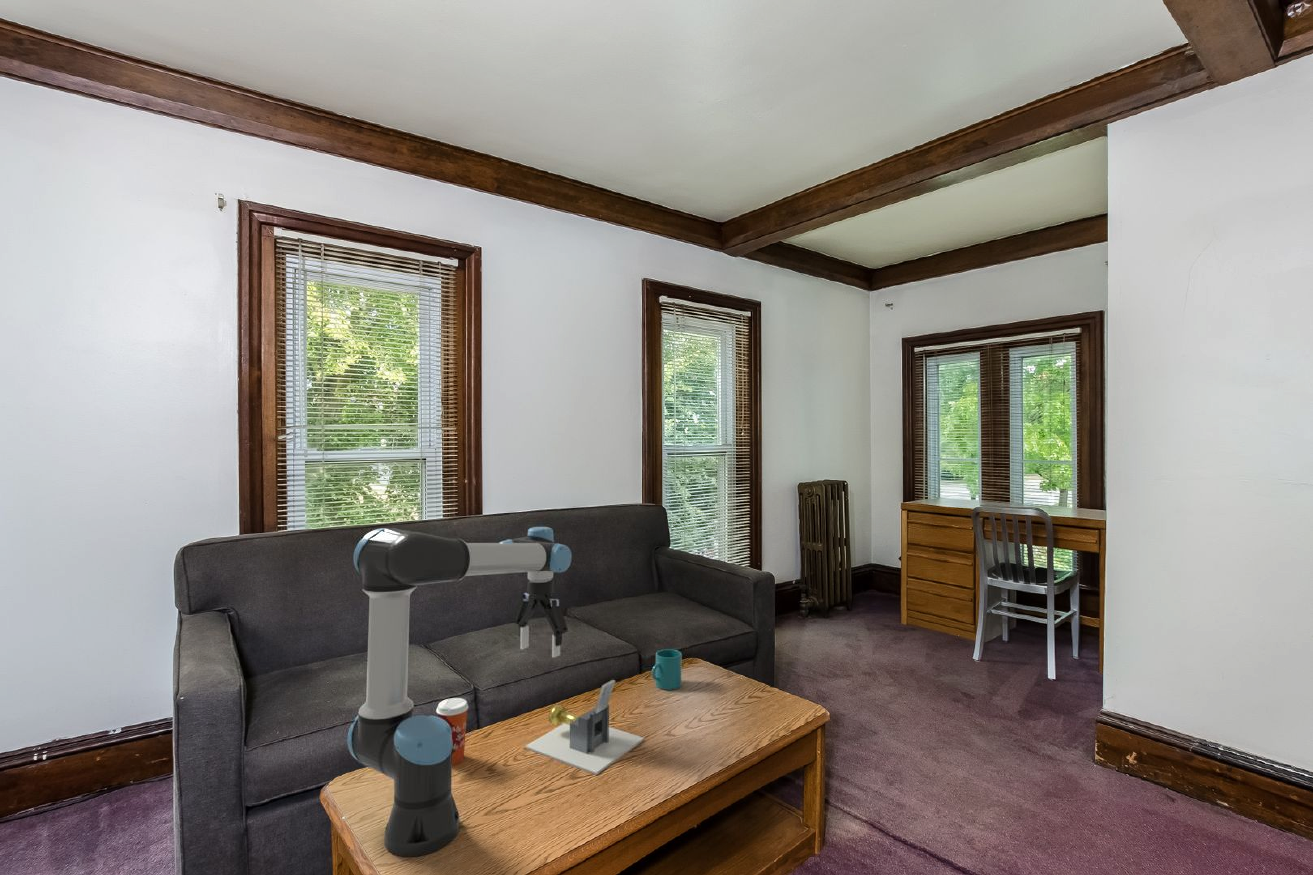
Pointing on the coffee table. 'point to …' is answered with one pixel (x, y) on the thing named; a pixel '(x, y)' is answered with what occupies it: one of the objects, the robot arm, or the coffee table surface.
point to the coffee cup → (455, 724)
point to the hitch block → (590, 731)
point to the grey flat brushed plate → (604, 696)
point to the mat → (603, 755)
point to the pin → (561, 716)
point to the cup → (667, 669)
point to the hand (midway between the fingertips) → (540, 652)
